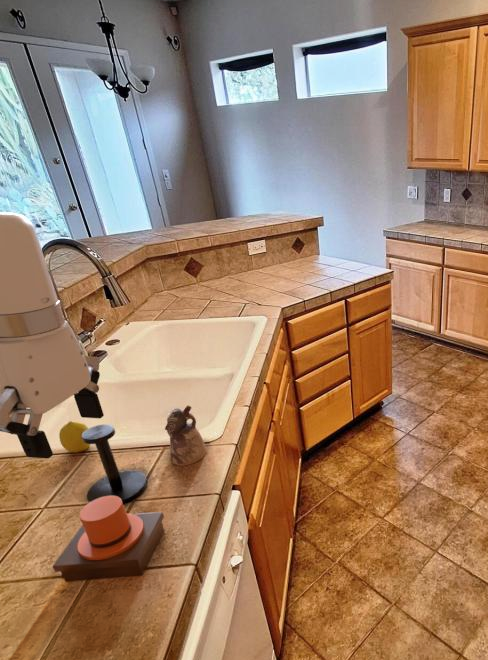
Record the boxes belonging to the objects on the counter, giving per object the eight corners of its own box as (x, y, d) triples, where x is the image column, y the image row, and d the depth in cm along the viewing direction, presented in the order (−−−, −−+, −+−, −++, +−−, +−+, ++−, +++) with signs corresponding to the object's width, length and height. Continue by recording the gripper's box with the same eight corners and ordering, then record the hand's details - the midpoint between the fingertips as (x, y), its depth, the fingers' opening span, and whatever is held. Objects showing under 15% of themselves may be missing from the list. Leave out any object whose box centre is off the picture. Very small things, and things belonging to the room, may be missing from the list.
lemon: (68, 448, 96) (56, 418, 93) (97, 442, 98) (87, 412, 95) (64, 462, 92) (51, 431, 88) (95, 455, 94) (83, 425, 90)
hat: (65, 562, 64) (51, 532, 62) (96, 518, 72) (85, 489, 70) (129, 557, 65) (118, 527, 63) (153, 514, 73) (143, 486, 71)
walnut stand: (61, 584, 65) (52, 566, 64) (95, 534, 74) (88, 516, 73) (144, 577, 67) (137, 559, 65) (167, 528, 76) (162, 511, 74)
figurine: (168, 452, 96) (156, 405, 90) (202, 442, 99) (192, 397, 94) (173, 469, 90) (160, 421, 85) (209, 458, 94) (198, 411, 88)
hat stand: (77, 511, 79) (51, 449, 73) (104, 476, 88) (83, 418, 82) (134, 507, 80) (113, 446, 74) (155, 473, 89) (138, 415, 83)
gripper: (51, 298, 61) (86, 403, 68) (-78, 344, 45) (-15, 473, 53) (103, 301, 60) (132, 406, 68) (-10, 348, 45) (44, 477, 52)
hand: (68, 435), depth 60 cm, fingers open, 9 cm apart
